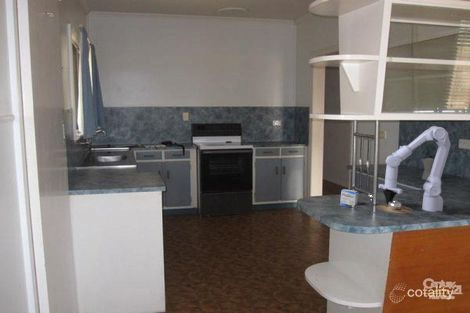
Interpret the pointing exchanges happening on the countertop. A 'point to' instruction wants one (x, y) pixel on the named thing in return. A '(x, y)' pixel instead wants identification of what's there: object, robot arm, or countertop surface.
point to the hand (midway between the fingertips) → (388, 204)
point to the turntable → (403, 210)
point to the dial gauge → (371, 199)
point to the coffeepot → (427, 167)
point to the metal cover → (394, 205)
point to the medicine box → (348, 198)
